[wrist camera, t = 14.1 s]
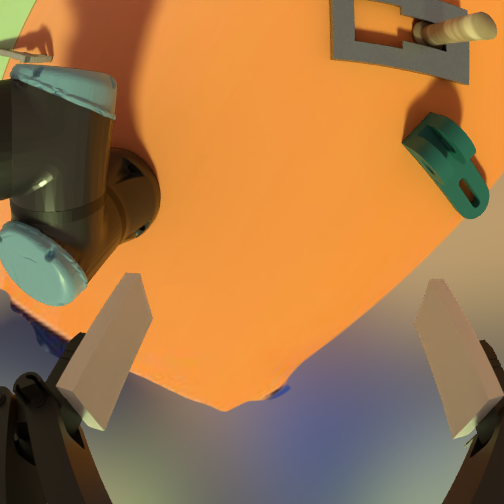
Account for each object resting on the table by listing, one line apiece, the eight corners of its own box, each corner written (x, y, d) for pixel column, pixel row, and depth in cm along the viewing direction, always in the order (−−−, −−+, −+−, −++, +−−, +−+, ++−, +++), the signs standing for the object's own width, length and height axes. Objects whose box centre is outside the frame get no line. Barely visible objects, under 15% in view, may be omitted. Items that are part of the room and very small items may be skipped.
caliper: (55, 55, 34) (30, 57, 29) (53, 61, 35) (28, 63, 29) (-9, 47, 31) (-31, 49, 26) (-10, 52, 32) (-32, 55, 26)
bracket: (401, 142, 38) (423, 156, 31) (429, 112, 35) (456, 120, 28) (463, 220, 42) (485, 244, 36) (487, 194, 39) (513, 214, 33)
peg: (412, 48, 30) (469, 39, 18) (411, 17, 28) (465, -3, 15) (441, 55, 30) (503, 53, 17) (440, 26, 27) (501, 13, 15)
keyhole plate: (330, 59, 33) (333, 58, 31) (328, -19, 27) (330, -24, 25) (461, 84, 31) (468, 85, 30) (459, 12, 25) (467, 10, 23)
